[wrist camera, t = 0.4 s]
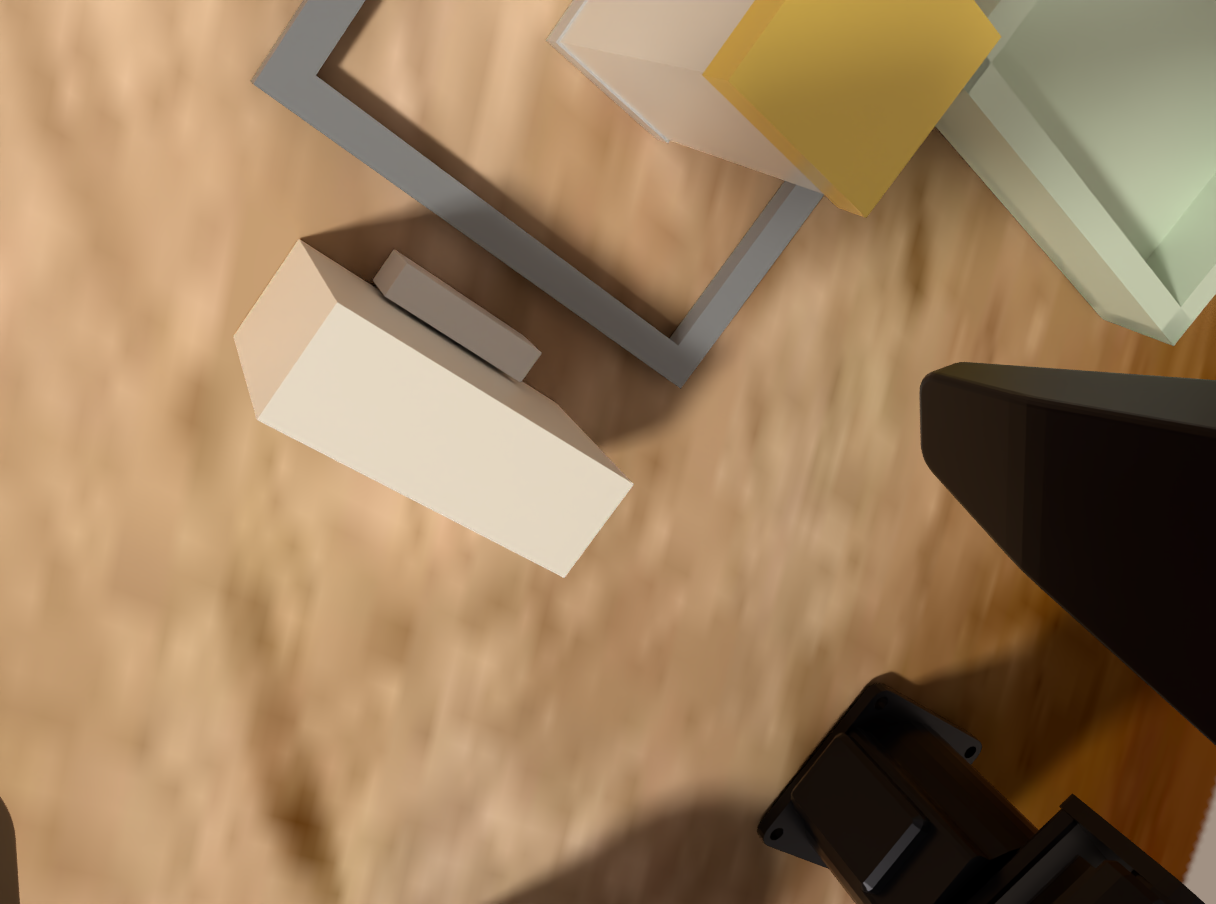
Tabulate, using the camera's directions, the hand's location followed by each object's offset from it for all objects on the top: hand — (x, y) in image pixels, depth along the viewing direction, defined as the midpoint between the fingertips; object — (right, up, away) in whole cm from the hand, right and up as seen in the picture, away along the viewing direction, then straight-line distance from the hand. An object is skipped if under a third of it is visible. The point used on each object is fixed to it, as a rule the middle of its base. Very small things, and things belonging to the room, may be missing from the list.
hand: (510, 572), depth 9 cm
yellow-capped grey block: (+2, +10, +12) cm, 16 cm away
